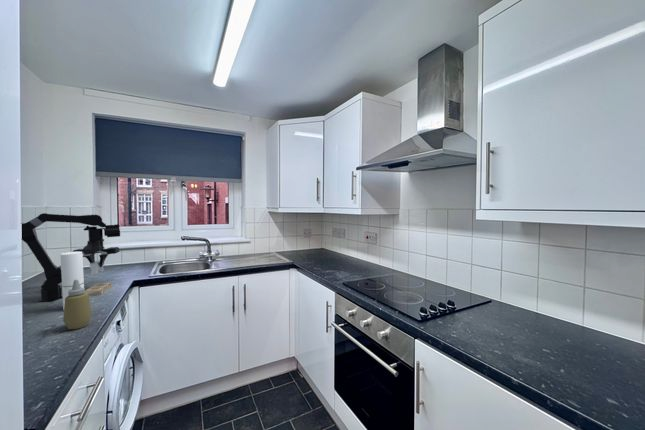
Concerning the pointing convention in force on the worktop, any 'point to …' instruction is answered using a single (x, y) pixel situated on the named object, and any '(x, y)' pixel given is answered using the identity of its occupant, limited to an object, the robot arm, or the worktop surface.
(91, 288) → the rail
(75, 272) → the cylindrical container
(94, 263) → the clip
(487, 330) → the worktop surface
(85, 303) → the squeeze bottle
